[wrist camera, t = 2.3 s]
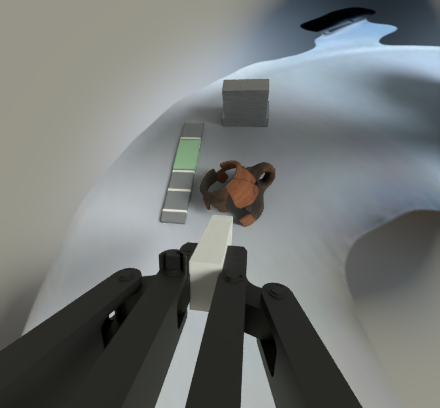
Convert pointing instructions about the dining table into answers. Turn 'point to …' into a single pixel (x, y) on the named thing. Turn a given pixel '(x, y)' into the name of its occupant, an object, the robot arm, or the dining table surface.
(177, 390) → the dining table surface
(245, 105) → the striated grey slab
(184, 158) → the gauge strip
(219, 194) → the pottery mug
